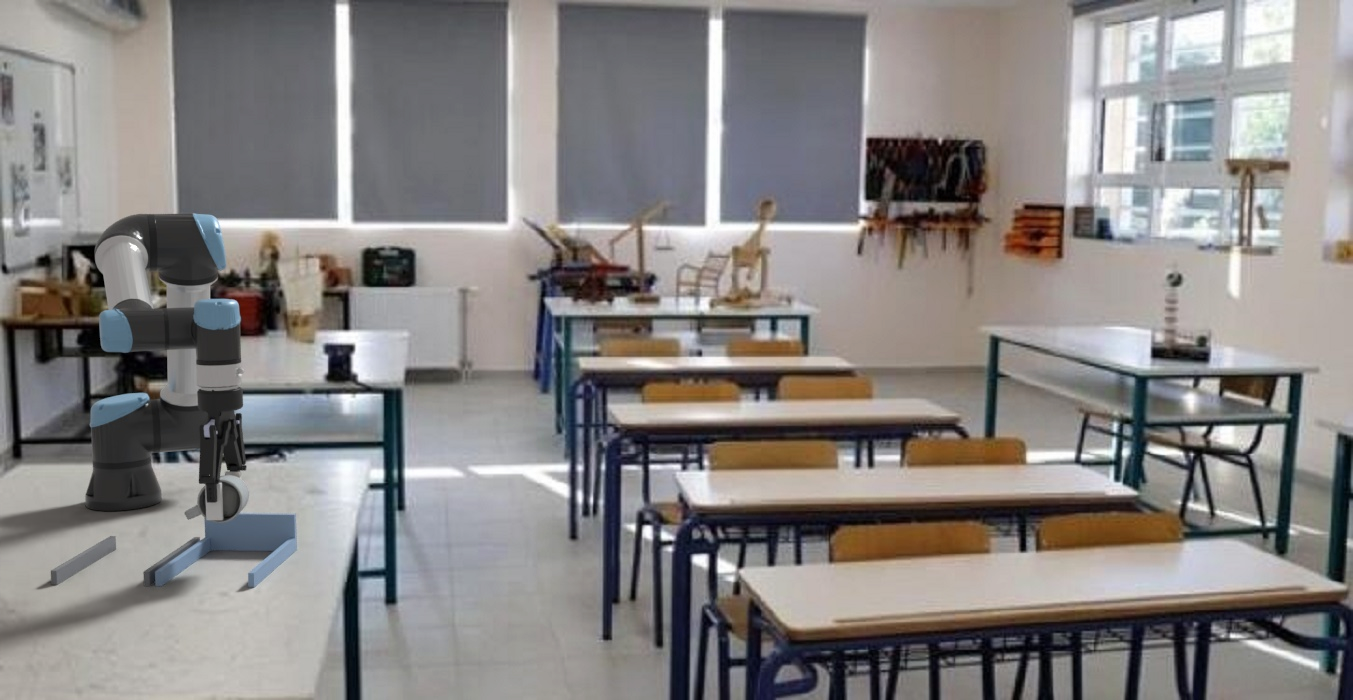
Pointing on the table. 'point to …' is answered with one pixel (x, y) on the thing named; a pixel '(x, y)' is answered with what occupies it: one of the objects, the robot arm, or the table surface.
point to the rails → (102, 550)
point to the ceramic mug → (224, 499)
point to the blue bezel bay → (241, 543)
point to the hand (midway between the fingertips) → (224, 513)
